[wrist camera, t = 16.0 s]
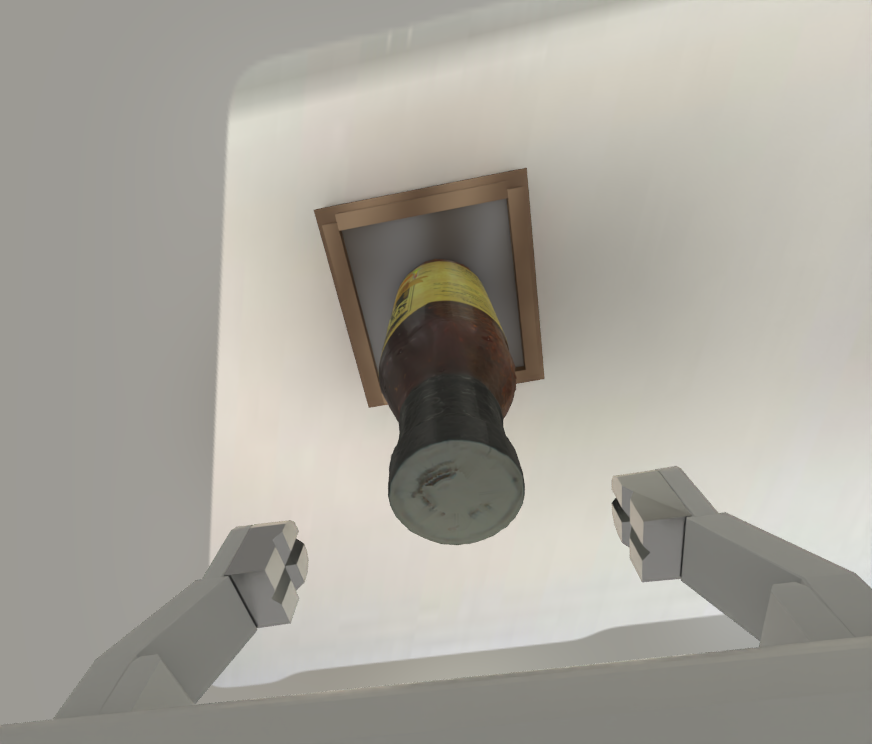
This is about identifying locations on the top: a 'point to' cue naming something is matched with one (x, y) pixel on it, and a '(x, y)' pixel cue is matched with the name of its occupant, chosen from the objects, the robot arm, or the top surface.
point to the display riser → (435, 239)
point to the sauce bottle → (450, 408)
